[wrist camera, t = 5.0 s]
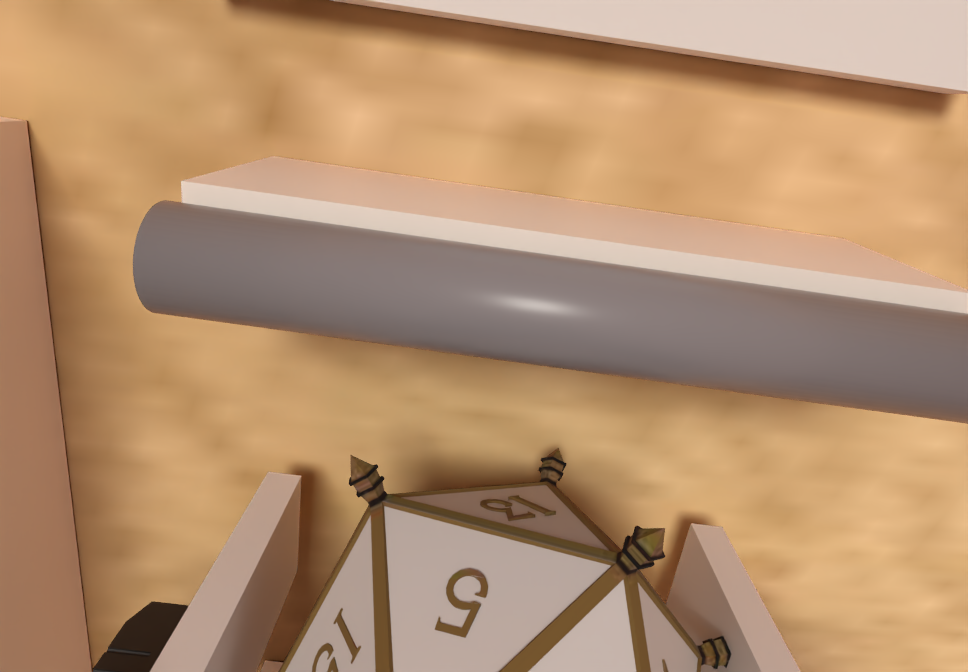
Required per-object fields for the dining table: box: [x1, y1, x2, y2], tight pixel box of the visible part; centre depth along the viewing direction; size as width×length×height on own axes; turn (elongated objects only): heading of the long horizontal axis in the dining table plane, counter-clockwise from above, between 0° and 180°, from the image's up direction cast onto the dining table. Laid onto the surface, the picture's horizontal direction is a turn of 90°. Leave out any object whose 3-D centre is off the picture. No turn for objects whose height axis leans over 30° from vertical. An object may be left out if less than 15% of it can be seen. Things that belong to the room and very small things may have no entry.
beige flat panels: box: [0, 117, 968, 672], centre depth 11 cm, size 16×19×10 cm
